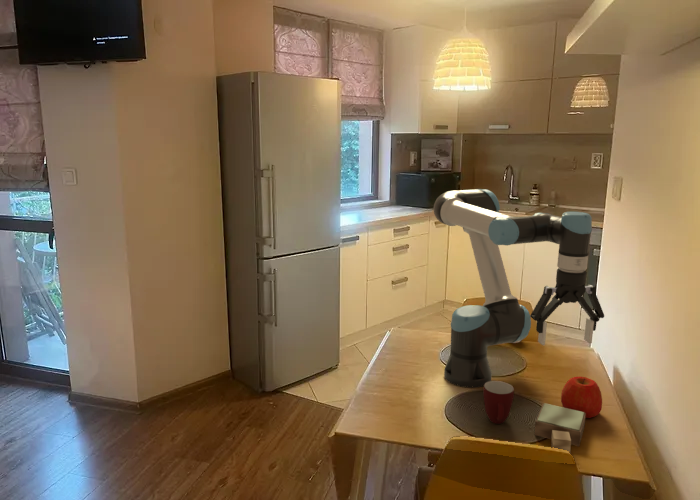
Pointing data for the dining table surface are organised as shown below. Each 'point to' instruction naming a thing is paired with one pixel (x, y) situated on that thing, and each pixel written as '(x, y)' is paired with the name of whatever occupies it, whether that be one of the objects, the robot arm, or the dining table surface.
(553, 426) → the podium
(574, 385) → the apple
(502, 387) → the mug
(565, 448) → the oak block
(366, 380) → the dining table surface
